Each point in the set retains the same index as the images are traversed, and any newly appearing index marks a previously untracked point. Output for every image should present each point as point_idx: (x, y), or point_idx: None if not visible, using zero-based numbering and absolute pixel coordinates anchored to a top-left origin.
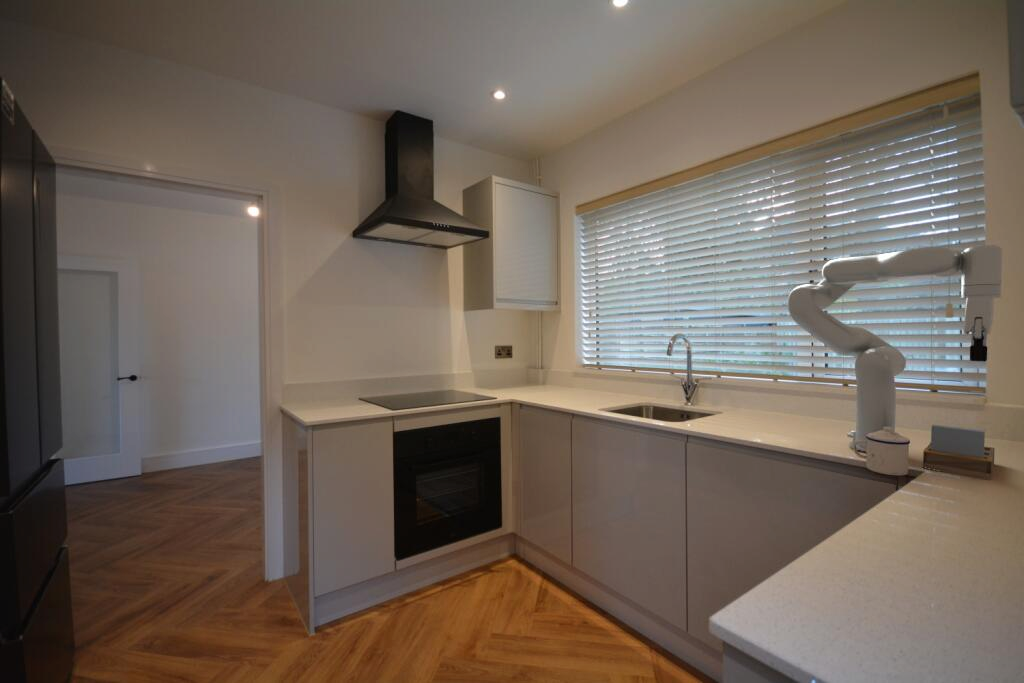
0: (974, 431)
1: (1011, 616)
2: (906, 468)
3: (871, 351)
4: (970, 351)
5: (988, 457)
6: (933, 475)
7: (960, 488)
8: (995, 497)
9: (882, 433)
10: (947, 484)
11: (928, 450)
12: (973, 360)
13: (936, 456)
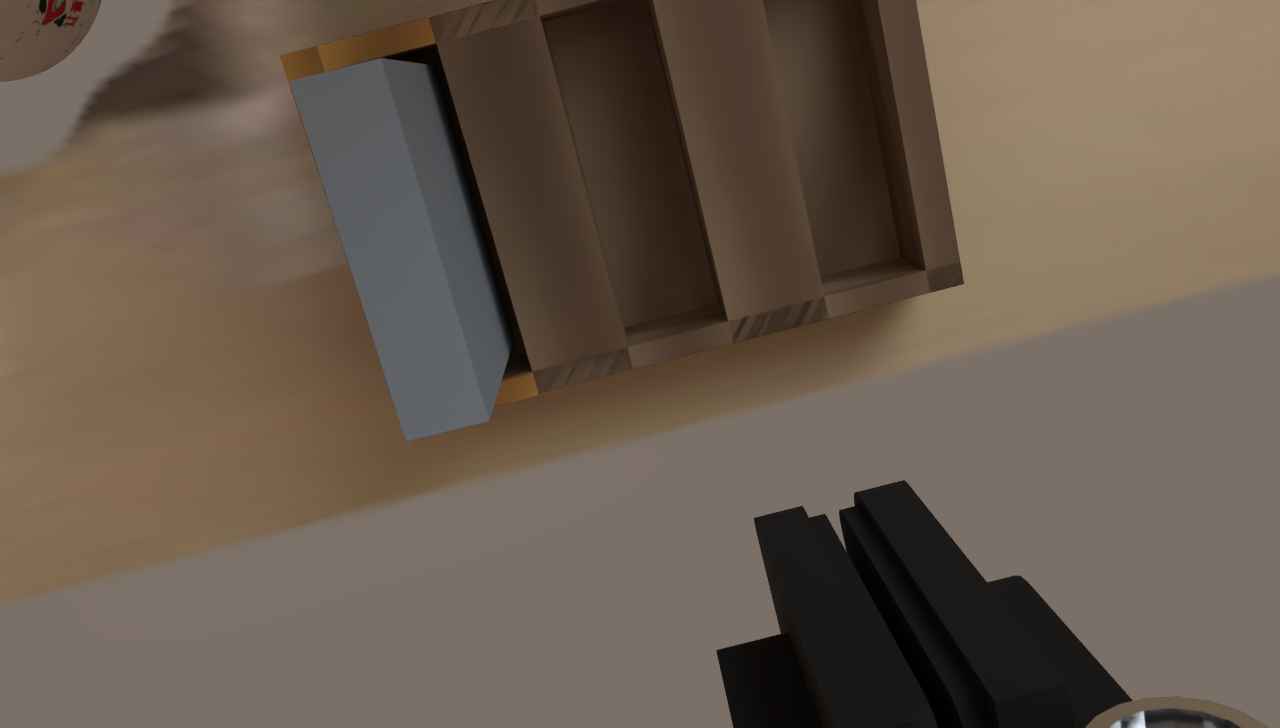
0: (388, 381)
1: None
2: None
3: None
4: (803, 638)
5: (502, 385)
6: (189, 173)
7: (37, 369)
8: (42, 518)
9: None
10: (51, 300)
11: (354, 64)
12: (768, 572)
13: None
